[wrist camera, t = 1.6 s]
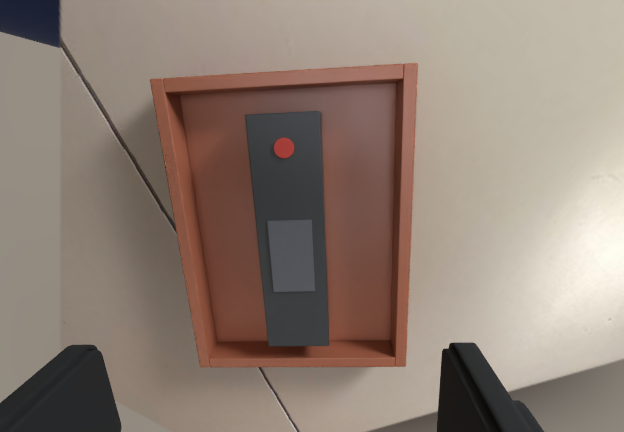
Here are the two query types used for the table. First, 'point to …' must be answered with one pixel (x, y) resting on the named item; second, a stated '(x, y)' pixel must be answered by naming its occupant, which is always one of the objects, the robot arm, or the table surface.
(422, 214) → the table surface
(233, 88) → the tray
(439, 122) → the table surface
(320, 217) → the tv remote
